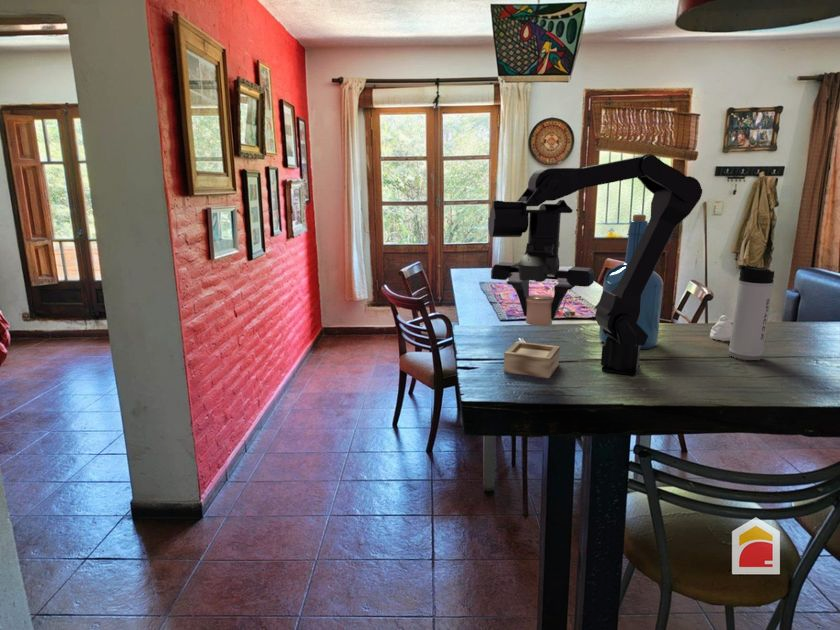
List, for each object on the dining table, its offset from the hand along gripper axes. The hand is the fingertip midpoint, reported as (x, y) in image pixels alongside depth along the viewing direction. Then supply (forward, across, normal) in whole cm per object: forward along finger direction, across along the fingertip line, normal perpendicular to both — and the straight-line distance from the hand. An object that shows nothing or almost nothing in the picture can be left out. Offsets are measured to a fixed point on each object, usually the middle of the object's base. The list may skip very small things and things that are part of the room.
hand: (539, 317), depth 105 cm
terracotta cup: (+1, 0, 0) cm, 1 cm away
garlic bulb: (+11, +34, +44) cm, 57 cm away
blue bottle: (+11, +14, +30) cm, 35 cm away
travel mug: (+11, +38, +30) cm, 50 cm away
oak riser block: (+11, -1, +1) cm, 12 cm away
